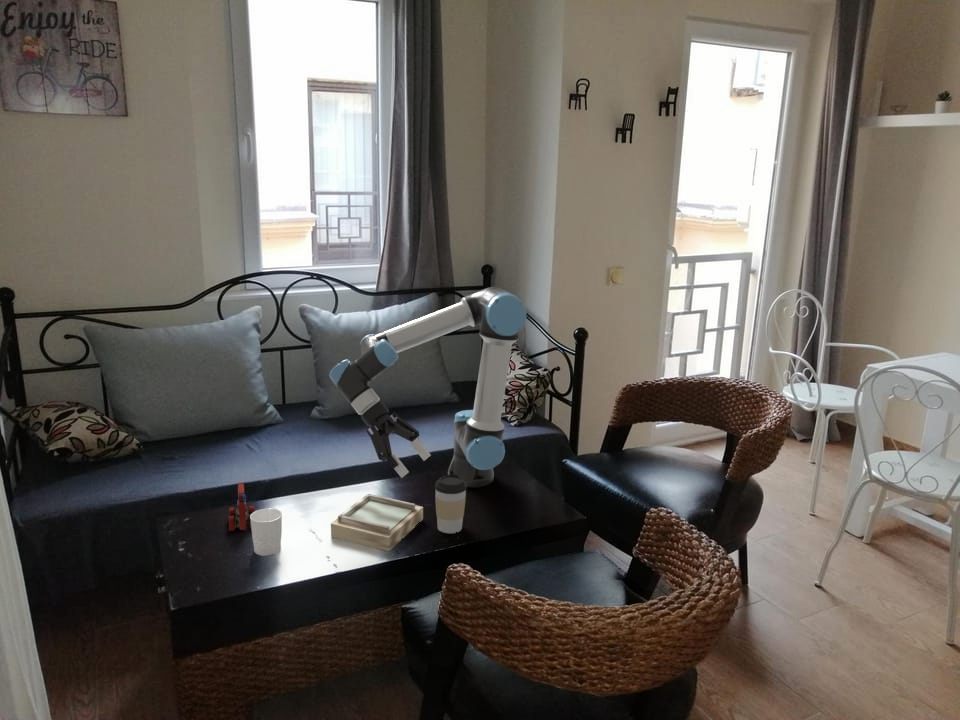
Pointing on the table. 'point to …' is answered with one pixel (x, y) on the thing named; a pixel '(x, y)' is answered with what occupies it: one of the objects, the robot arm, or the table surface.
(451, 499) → the coffee cup
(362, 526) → the tray
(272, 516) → the white cup
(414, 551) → the table surface
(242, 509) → the toy fire truck
